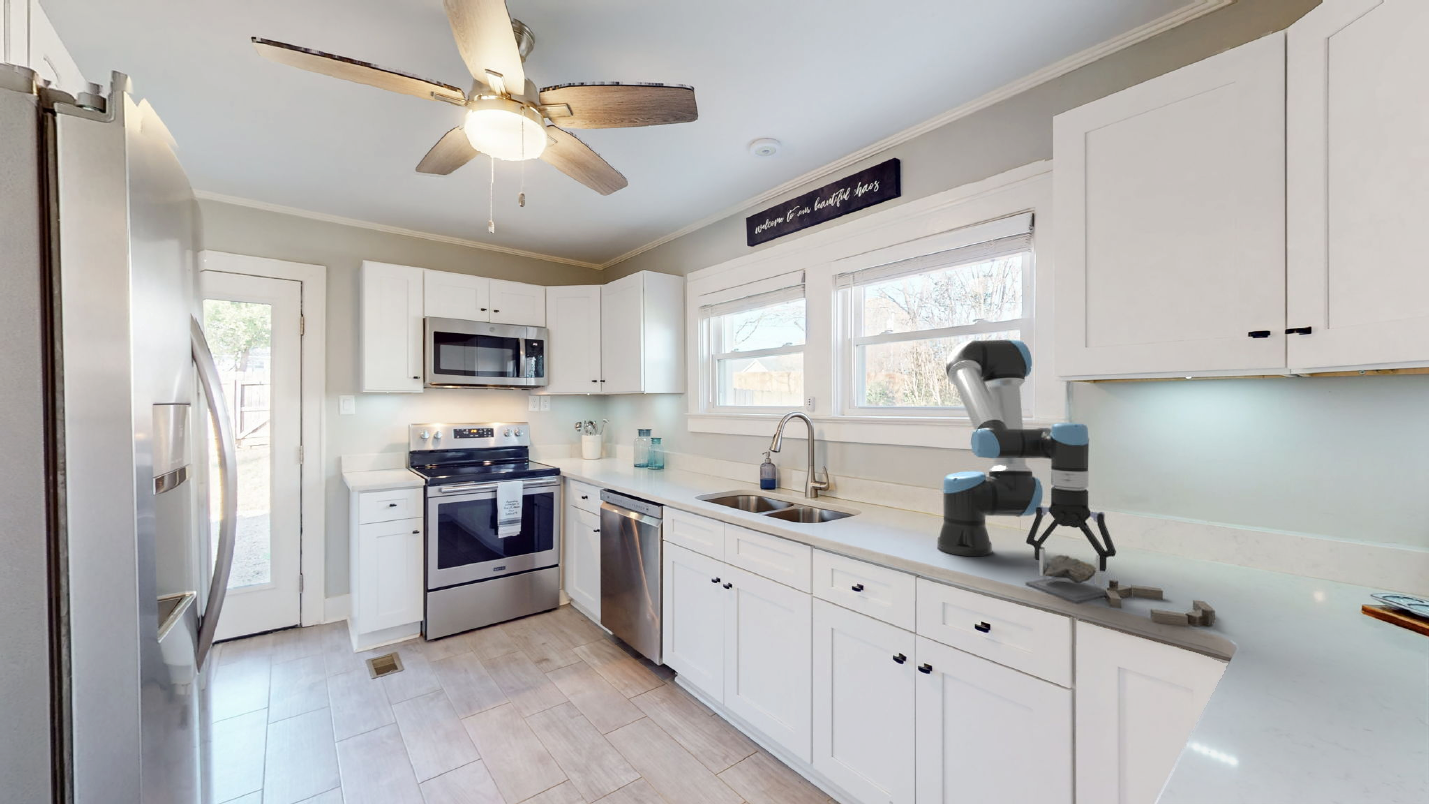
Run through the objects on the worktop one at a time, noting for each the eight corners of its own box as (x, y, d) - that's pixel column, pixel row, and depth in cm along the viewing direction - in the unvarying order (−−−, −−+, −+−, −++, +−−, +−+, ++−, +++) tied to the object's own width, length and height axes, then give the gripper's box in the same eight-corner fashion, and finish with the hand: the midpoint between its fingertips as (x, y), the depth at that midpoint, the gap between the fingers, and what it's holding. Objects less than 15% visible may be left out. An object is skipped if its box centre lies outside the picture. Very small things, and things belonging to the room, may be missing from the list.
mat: (1025, 584, 137) (1025, 581, 136) (1063, 578, 141) (1063, 575, 141) (1075, 603, 124) (1075, 600, 124) (1115, 595, 129) (1115, 592, 129)
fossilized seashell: (1078, 566, 139) (1078, 543, 136) (1107, 594, 129) (1109, 570, 126) (1035, 574, 139) (1035, 551, 137) (1062, 603, 129) (1062, 579, 127)
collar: (1086, 598, 127) (1086, 584, 127) (1134, 588, 133) (1134, 575, 133) (1183, 632, 109) (1183, 616, 109) (1235, 620, 114) (1236, 605, 114)
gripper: (1012, 484, 137) (1012, 573, 137) (1128, 495, 122) (1128, 594, 122) (1018, 481, 143) (1018, 565, 143) (1130, 490, 128) (1130, 585, 128)
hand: (1069, 579), depth 133 cm, fingers closed on fossilized seashell, 11 cm apart
